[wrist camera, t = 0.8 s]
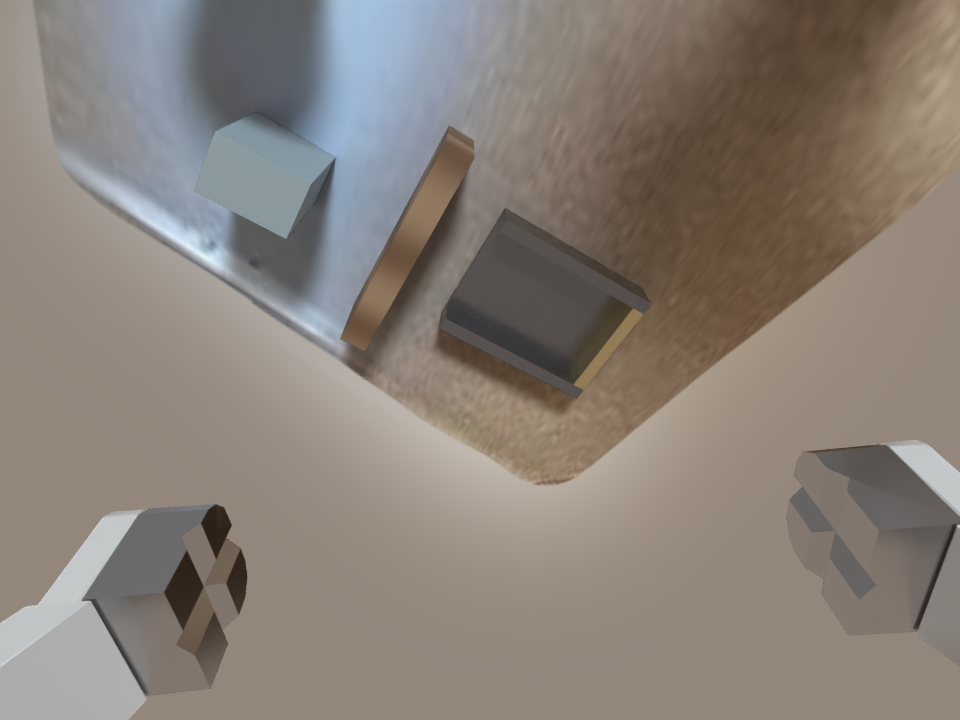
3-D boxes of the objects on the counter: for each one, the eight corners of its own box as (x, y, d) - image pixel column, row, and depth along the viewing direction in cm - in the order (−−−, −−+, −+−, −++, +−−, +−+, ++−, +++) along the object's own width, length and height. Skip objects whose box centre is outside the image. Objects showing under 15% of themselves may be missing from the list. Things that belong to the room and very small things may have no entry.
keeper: (505, 208, 46) (507, 219, 44) (642, 288, 50) (651, 303, 47) (441, 312, 50) (439, 328, 48) (571, 379, 54) (576, 398, 51)
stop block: (256, 111, 43) (214, 131, 36) (335, 156, 44) (310, 184, 37) (236, 162, 44) (193, 191, 37) (314, 204, 46) (286, 239, 39)
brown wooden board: (449, 125, 43) (446, 141, 38) (473, 140, 44) (474, 158, 38) (353, 304, 50) (340, 339, 45) (375, 316, 50) (365, 351, 45)
